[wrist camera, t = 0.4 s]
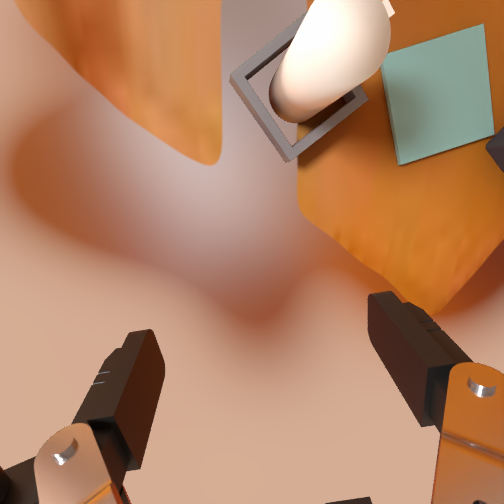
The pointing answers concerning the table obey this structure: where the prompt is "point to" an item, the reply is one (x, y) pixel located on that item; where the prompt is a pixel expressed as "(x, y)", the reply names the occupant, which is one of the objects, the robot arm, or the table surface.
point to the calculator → (497, 148)
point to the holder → (261, 114)
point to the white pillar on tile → (330, 55)
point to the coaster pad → (438, 94)
